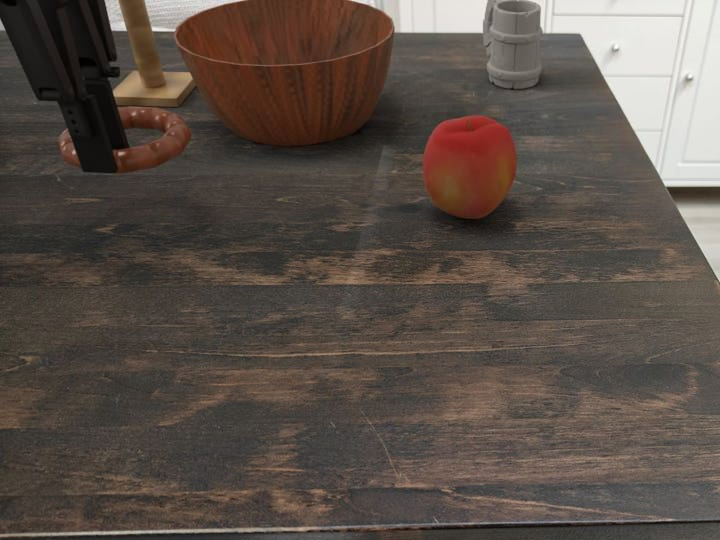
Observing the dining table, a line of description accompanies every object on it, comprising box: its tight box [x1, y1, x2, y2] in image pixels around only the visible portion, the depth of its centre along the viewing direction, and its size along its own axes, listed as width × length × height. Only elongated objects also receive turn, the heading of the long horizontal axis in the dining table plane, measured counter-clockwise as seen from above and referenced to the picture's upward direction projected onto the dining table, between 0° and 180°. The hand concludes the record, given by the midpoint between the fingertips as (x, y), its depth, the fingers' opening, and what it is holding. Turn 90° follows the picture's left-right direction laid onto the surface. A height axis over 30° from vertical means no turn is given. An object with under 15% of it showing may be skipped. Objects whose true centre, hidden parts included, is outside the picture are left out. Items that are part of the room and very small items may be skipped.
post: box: [112, 0, 197, 108], centre depth 94 cm, size 9×9×16 cm
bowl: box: [172, 0, 396, 147], centre depth 90 cm, size 25×25×11 cm
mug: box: [482, 0, 544, 90], centre depth 103 cm, size 8×12×12 cm, turn 31°
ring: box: [57, 106, 192, 175], centre depth 68 cm, size 11×11×2 cm
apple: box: [422, 115, 518, 220], centre depth 74 cm, size 10×10×10 cm
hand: (107, 162), depth 65 cm, fingers closed on ring, 2 cm apart
